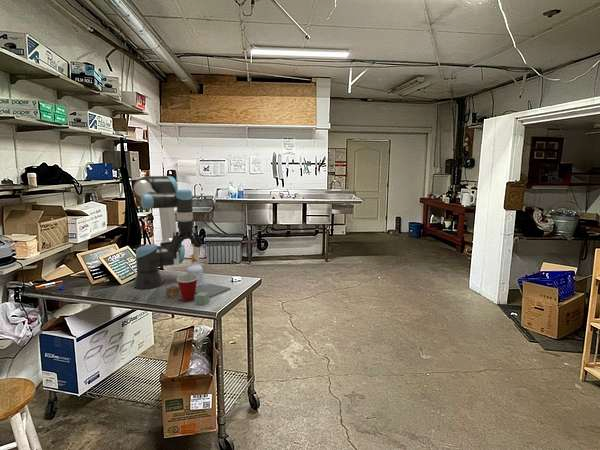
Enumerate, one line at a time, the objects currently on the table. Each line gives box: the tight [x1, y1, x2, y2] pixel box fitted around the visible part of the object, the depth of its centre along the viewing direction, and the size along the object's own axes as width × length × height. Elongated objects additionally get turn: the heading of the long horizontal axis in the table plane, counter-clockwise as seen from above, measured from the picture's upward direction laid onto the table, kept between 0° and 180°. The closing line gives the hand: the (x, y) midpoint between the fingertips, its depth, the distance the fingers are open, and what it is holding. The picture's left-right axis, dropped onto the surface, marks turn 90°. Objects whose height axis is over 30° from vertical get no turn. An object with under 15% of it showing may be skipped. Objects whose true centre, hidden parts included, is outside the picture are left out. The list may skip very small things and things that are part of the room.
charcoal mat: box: [195, 283, 231, 299], centre depth 205 cm, size 16×16×1 cm
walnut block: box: [165, 285, 181, 299], centre depth 197 cm, size 5×5×5 cm
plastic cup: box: [175, 274, 198, 302], centre depth 191 cm, size 11×11×12 cm
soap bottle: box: [186, 243, 204, 288], centre depth 214 cm, size 9×9×25 cm
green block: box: [194, 292, 210, 306], centre depth 186 cm, size 5×5×5 cm
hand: (186, 262), depth 188 cm, fingers open, 13 cm apart
